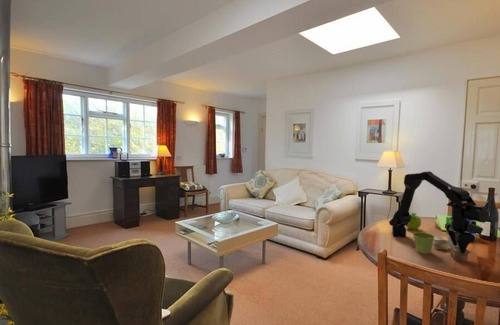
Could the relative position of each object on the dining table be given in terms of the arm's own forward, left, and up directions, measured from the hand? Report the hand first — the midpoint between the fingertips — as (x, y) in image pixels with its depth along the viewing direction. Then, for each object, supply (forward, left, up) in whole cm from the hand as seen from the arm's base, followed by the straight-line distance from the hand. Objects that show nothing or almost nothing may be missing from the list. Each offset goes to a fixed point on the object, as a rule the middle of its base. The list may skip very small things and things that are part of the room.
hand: (458, 249), depth 122 cm
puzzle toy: (+12, +36, -5) cm, 38 cm away
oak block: (-4, +14, -5) cm, 15 cm away
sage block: (+4, +16, -5) cm, 17 cm away
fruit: (-11, +43, -5) cm, 45 cm away
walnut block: (0, 0, -5) cm, 5 cm away
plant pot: (-13, +5, -5) cm, 15 cm away
